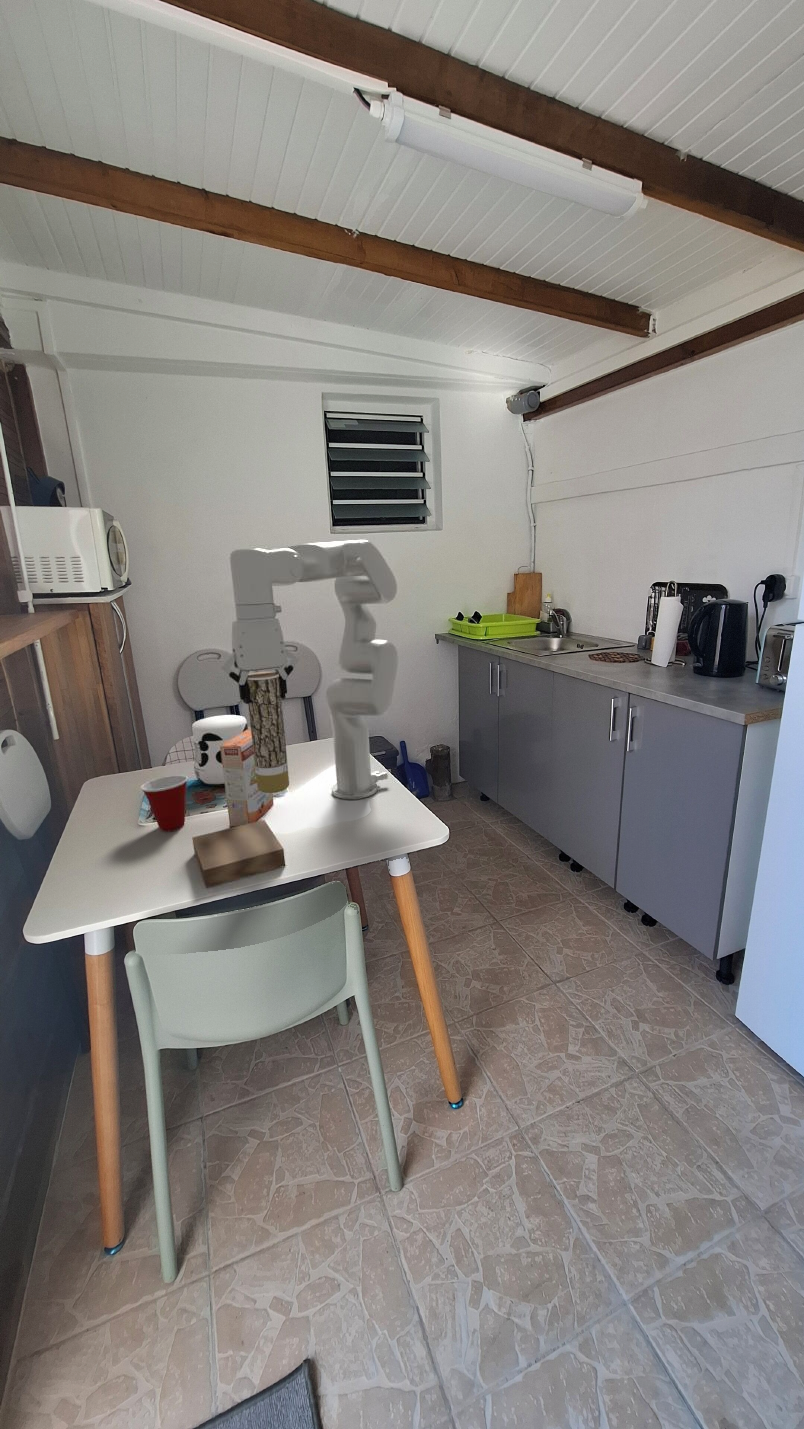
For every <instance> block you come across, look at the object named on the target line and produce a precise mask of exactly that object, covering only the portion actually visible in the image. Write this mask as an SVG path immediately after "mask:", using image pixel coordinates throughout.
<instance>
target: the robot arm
mask: <svg viewBox="0 0 804 1429" xmlns="http://www.w3.org/2000/svg"><path fill="white" fill-rule="evenodd" d="M229 560H230V561H229V562H230V564H229V565H230V571H231V580H232V589H233V590H232V591H233V597H234V598H233V600H234V608H235V616H236V620H234V621H232V625H231V649H232V650H231V651H232V652H231V654H230V656H228V657H227V659H225V661H223V663H222V664H220V667H219V668H220V670H221V671H222V672H223V673H225V674H226V675H227V676H228V677H229V678H231V679H232V680H233V681H235V682H236V683H237V684H238V691H239V692H238V693H239V698H240V700H241V701H242V703H244V704H246V705H248V704H249V703H250V698H249V689H248V685H247V684H246V679H247V676H248V674H250V672H256V671H265V670H270V669H271V670H273V669H274V672H278V673H279V680H280V690H281V700H282V699H283V700H285V699H286V695H287V693H288V687H287V686H288V684H287V679H288V678H289V676H290V674H292V672H293V671H294V669H295V667H296V666H297V665H298V663H299V661H300V659H299V657H297V656H296V655H295V654H293V653H292V652H291V651H289V650H288V649H286V647H285V646H286V645H285V640H284V635H283V630H282V627H281V623H280V621H279V620H280V619H279V618H276V616H277V614H278V613H282V606H281V605H276V603H274V602H275V601H274V590H273V587H282V586H283V587H284V586H290V585H291V586H292V585H294V584H296V583H312V582H319V581H325V580H331V579H335V580H334V592H335V595H336V598H337V600H338V602H339V605H340V607H341V610H342V612H343V615H344V628H343V636H342V641H341V645H340V650H339V656H338V657H339V658H338V666H339V669H340V671H342V672H343V673H345V674H348V675H354V676H368V677H369V676H371V677H372V679H368V678H366V679H365V678H357V677H356V678H352V677H349V678H348V677H341V678H337V679H334V680H333V681H331V682H330V683H329V684H328V686H327V688H326V690H325V699H326V700H325V702H326V705H327V708H328V712H329V715H330V721H331V727H332V739H333V749H334V750H333V751H334V752H333V753H334V762H335V776H336V783H335V784H333V785H332V787H331V794H332V795H333V796H334V797H336V798H338V799H340V800H359V799H364V798H368V797H370V796H372V795H375V793H377V791H378V788H379V787H378V784H377V783H378V781H383V780H384V781H385V780H388V777H389V776H388V773H387V772H381V773H380V772H379V771H374V772H372V771H371V769H372V768H371V752H370V739H369V735H370V734H369V727H368V725H367V722H366V720H365V718H364V717H365V716H366V717H383V716H385V715H386V714H387V713H388V712H389V711H390V707H391V705H392V700H393V695H394V690H395V683H396V678H397V677H396V676H397V672H398V664H399V656H398V650H397V647H396V646H395V644H394V643H392V642H391V641H390V640H386V639H376V633H377V632H376V631H377V622H376V619H375V617H374V615H373V614H372V612H371V611H370V609H369V608H368V606H367V604H368V605H370V604H373V605H374V604H375V605H377V604H379V605H380V604H381V605H382V604H388V603H391V602H392V601H393V600H394V599H395V597H396V595H397V593H398V592H397V591H398V586H397V585H398V584H397V580H396V577H395V575H394V573H393V571H392V570H391V568H390V566H389V565H388V563H387V560H386V559H385V558H384V556H383V555H382V553H381V551H380V549H378V548H377V546H375V545H374V543H372V542H371V541H369V540H366V539H357V540H343V541H342V540H341V541H327V542H313V543H311V542H309V543H300V544H296V545H290V546H284V547H282V546H281V547H276V548H240V549H239V548H238V549H235V550H233V551H231V553H230V556H229ZM287 659H288V660H289V661H288V663H287ZM286 664H287V665H286ZM232 665H233V667H234V668H236V669H238V670H239V671H238V673H236V672H235V671H233V670H232V668H231V666H232Z"/></svg>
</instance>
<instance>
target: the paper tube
mask: <svg viewBox="0 0 804 1429" xmlns="http://www.w3.org/2000/svg"><path fill="white" fill-rule="evenodd" d="M246 684H247V685H248V689H249V698H250V703H249V704H247V708H248V715H249V727H250V730H251V735H252V744H253V753H254V762H255V771H256V779H257V788H258V789H259V791H261V792H264V793H273V794H274V793H280V792H283V791H285V790H287V788H288V787H289V785H290V777H289V767H288V766H289V765H288V756H287V744H286V735H285V732H286V731H285V724H284V714H283V702H282V698H281V690H280V680H279V673H278V672H276V671H258V672H256V671H255V672H251V673H248V676H247V679H246Z"/></svg>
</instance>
